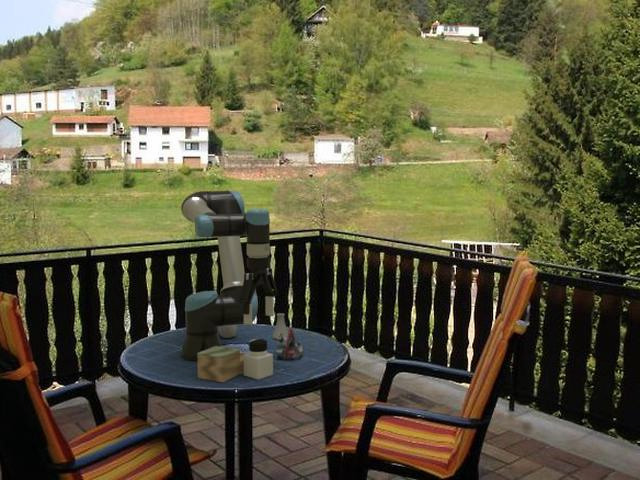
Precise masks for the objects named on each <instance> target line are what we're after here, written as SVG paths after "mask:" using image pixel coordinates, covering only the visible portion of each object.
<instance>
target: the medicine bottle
mask: <svg viewBox="0 0 640 480" xmlns="http://www.w3.org/2000/svg"><path fill="white" fill-rule="evenodd" d="M273 375H274V355H273V353H270V352H268V341H267V340H266V339H264V338H254V339H251V340H249V342H248V354H245V355H244V372H243V376H245V377H248V378H252V379H255V380H261V379H264V378H265V379H266V378H268V377H270V376H273Z"/></svg>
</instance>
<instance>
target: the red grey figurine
mask: <svg viewBox="0 0 640 480" xmlns="http://www.w3.org/2000/svg"><path fill="white" fill-rule="evenodd" d="M277 334H278V335H277V337H276V338H277V339H276V340H277V343H276V348H277V349H276V350H273V352H274V353H275V354H276V355H278V357H280V359H282V360H299V359H300V357H302V355H304V354H303V353H304V348H303V345H302V342H301V340H299V341H297V344H296V338H295V337H296V336H295V333H294V332H293V328H292V327H291V326H290V327H288V336H287V337H282V336H283V334H282V333H280V334H279V333H277Z"/></svg>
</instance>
